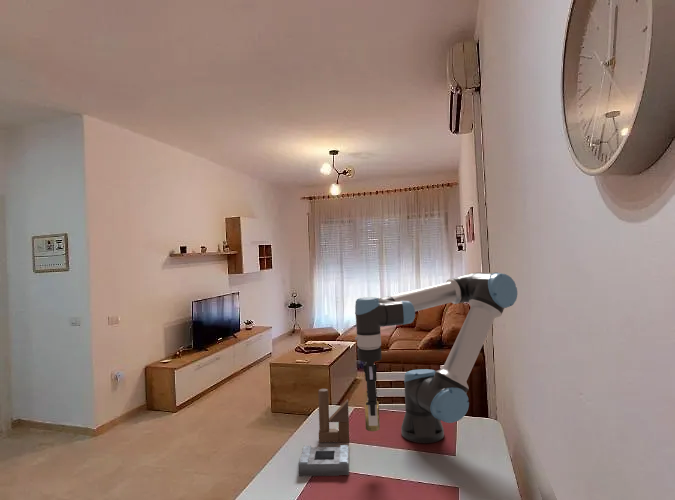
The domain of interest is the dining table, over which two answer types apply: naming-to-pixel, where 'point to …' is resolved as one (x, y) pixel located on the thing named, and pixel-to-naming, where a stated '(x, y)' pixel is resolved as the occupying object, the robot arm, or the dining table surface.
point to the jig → (324, 461)
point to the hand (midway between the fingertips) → (372, 421)
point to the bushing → (369, 428)
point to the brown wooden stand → (332, 420)
